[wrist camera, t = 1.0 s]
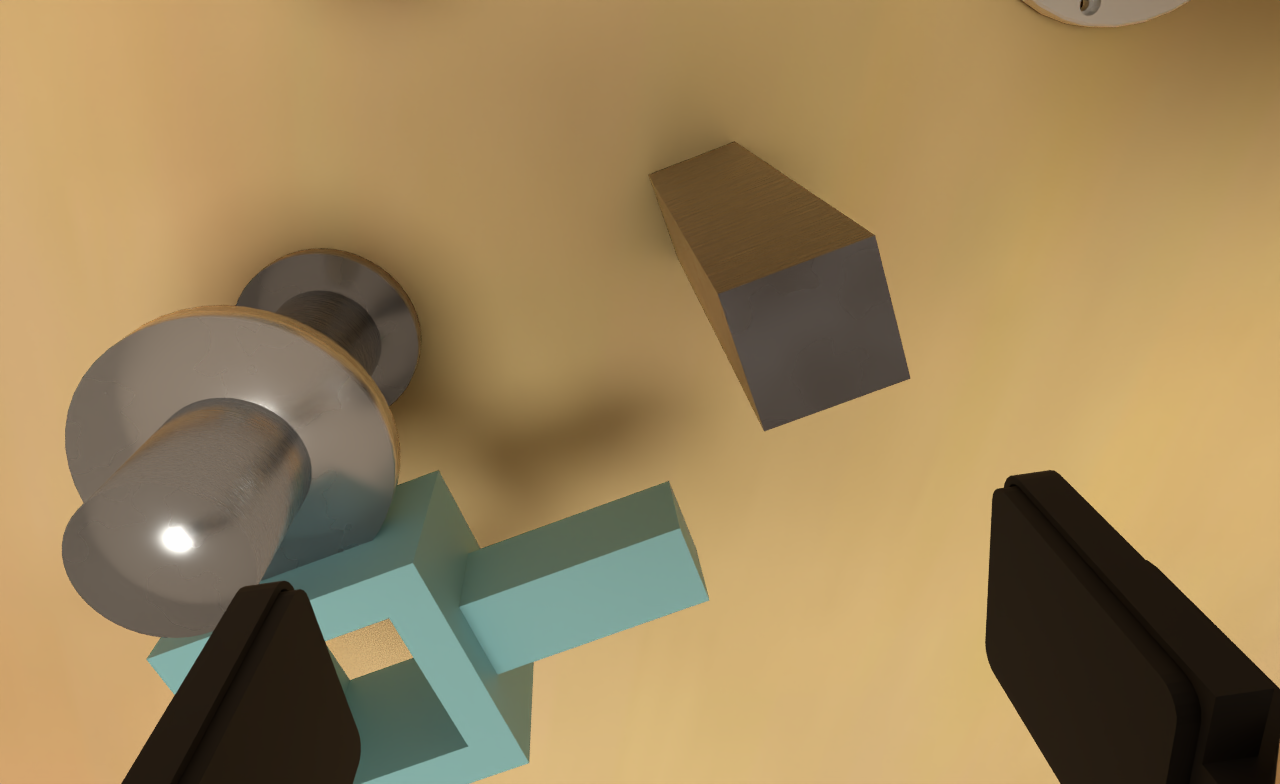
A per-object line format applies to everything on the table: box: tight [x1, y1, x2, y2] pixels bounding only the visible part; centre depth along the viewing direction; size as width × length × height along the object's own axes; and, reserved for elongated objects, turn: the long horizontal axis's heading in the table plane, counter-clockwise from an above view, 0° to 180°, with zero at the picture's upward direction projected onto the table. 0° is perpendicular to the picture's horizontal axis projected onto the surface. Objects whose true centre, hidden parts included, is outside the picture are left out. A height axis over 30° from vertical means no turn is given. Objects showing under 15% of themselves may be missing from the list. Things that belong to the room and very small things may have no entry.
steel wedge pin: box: [649, 142, 910, 431], centre depth 29 cm, size 4×4×18 cm
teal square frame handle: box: [147, 470, 709, 784], centre depth 31 cm, size 17×9×6 cm, turn 110°
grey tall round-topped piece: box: [62, 249, 421, 638], centre depth 30 cm, size 10×10×18 cm
